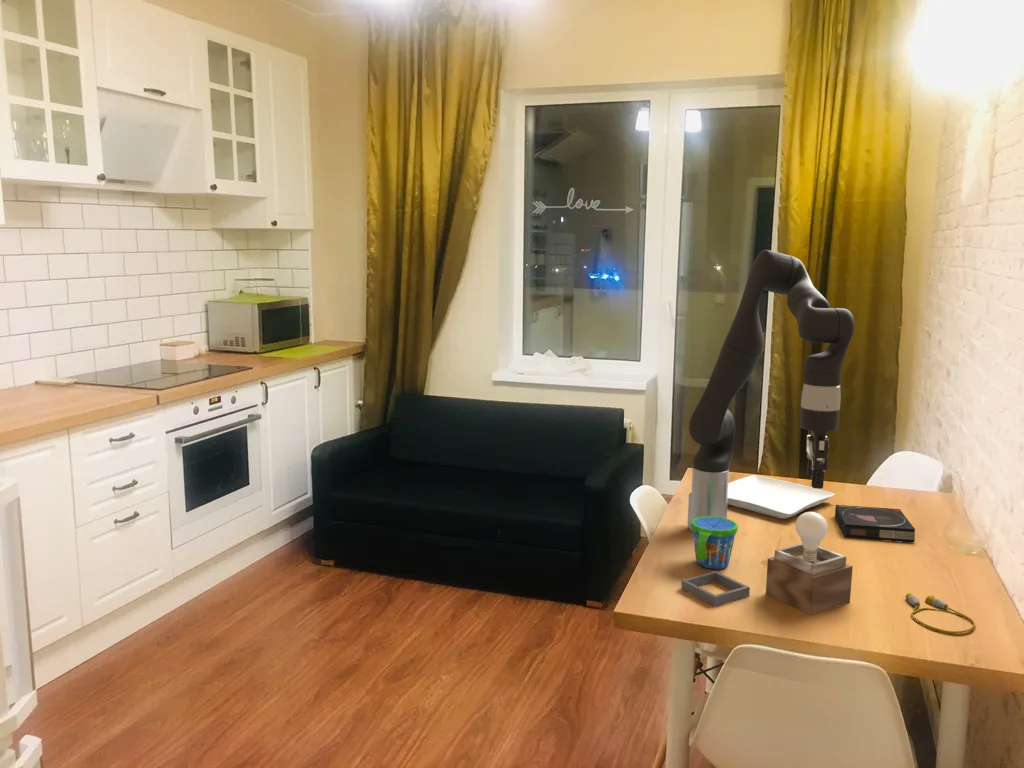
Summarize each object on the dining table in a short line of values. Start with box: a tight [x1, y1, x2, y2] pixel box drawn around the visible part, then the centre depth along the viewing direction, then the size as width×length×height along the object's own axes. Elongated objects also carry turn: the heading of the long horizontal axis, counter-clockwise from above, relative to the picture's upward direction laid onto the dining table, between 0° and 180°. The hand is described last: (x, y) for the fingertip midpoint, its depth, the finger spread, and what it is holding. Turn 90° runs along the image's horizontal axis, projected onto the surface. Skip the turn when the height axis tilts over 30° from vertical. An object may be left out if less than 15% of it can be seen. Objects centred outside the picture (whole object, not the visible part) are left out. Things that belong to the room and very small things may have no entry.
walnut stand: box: [765, 542, 853, 616], centre depth 172 cm, size 12×12×10 cm
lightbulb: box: [795, 511, 829, 563], centre depth 170 cm, size 6×6×11 cm
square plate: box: [727, 474, 836, 520], centre depth 237 cm, size 27×27×4 cm
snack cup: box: [691, 516, 739, 570], centre depth 190 cm, size 16×10×10 cm
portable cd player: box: [834, 504, 916, 543], centre depth 214 cm, size 16×17×4 cm
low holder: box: [680, 570, 751, 607], centre depth 175 cm, size 10×10×2 cm
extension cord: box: [905, 592, 976, 636], centre depth 164 cm, size 12×16×2 cm
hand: (814, 482), depth 168 cm, fingers open, 8 cm apart
